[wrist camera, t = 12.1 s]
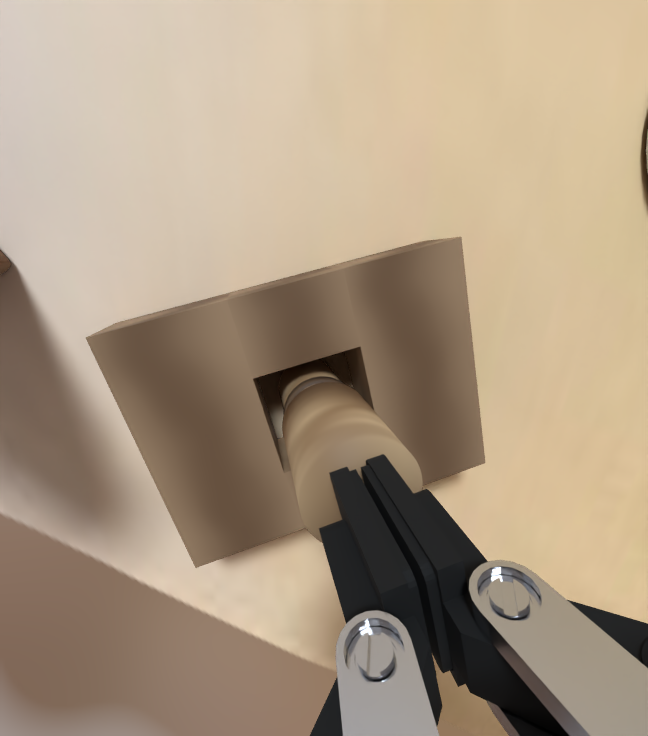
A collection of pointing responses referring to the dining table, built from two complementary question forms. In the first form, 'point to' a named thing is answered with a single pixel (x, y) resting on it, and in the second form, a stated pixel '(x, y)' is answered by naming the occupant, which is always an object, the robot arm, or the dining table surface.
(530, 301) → the dining table surface
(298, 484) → the peg
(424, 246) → the board
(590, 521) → the dining table surface
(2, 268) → the brown jointed angular part
